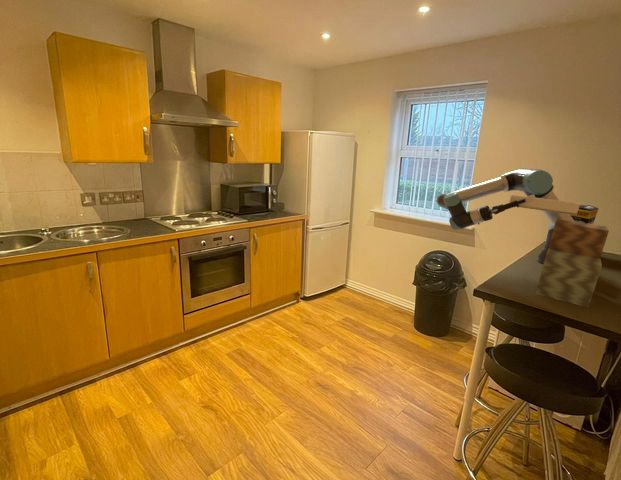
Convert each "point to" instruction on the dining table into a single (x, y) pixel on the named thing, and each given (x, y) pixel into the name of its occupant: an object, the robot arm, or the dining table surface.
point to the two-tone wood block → (573, 262)
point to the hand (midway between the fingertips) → (534, 197)
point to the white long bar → (549, 205)
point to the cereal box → (585, 214)
